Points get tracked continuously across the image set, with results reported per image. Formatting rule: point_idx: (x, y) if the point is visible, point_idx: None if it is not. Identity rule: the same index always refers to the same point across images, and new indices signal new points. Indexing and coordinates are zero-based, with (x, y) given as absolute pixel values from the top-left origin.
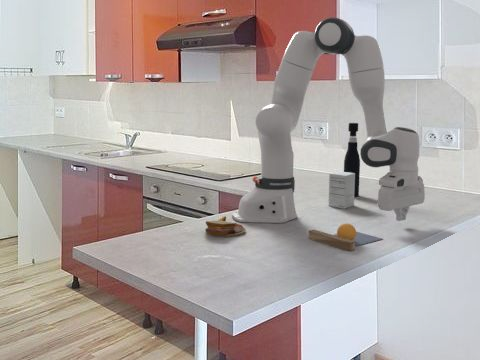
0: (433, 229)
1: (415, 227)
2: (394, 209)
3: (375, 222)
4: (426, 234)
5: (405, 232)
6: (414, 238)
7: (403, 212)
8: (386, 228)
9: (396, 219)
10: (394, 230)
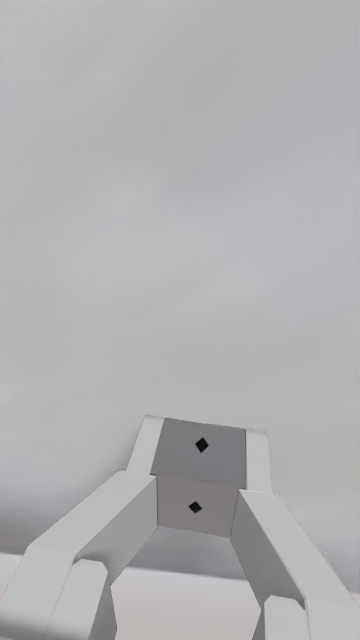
0: (328, 560)
1: (289, 473)
2: (18, 571)
3: (129, 22)
4: (160, 556)
5: (81, 472)
6: (26, 535)
7: (251, 550)
8: (31, 328)
9: (142, 422)
10: (48, 403)
